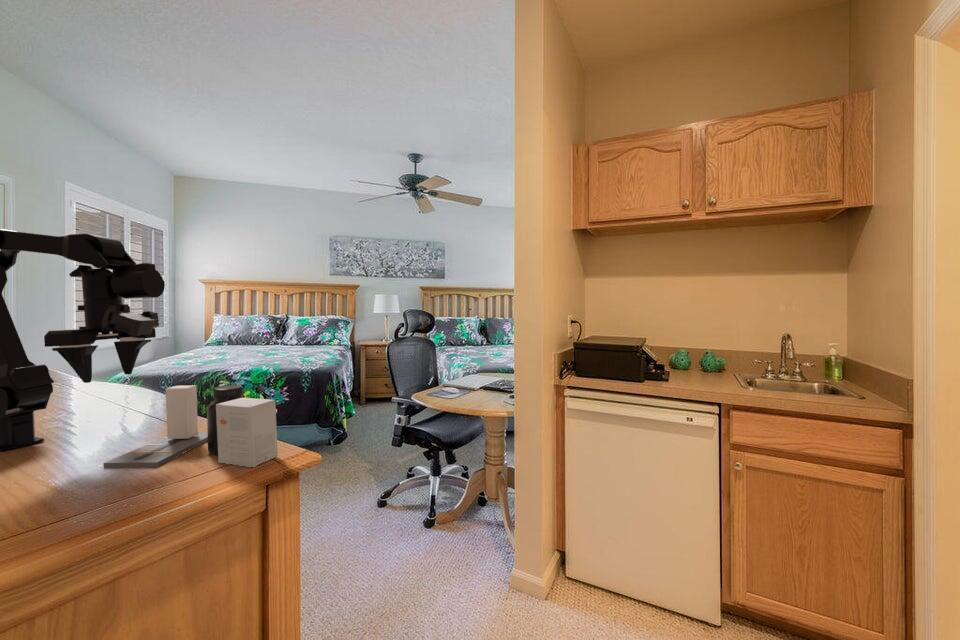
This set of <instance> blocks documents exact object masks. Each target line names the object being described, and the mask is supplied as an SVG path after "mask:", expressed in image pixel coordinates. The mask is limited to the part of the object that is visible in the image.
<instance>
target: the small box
mask: <svg viewBox="0 0 960 640" xmlns="http://www.w3.org/2000/svg"><path fill="white" fill-rule="evenodd" d="M276 411H277V408H276V399H268V398H267V399H266V398H265V399H264V398H254V397H253V398H252V397H242V398H239V399H235V400H231V401H227V402H223V403H219V404H216V419H217V441H218V455H217V458H218V460H217V461H218V463H219V462H220V463H219V464H223V463H228V464H227V465H230V464H233V465H232V466H237V465H238V466H240V467H244V466H245V468H251V467H253V468H255V467H258V466H260V465H261V463H262V464H264V463H266V462H269V461H271V460H273V459H274V458H277V457H278V451H279V450H278V436H277V435H278V433H277V429H278V428H277V412H276ZM270 459H271V460H270ZM265 461H266V462H265ZM263 462H264V463H263ZM259 464H260V465H259ZM257 465H258V466H257Z"/></svg>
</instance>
